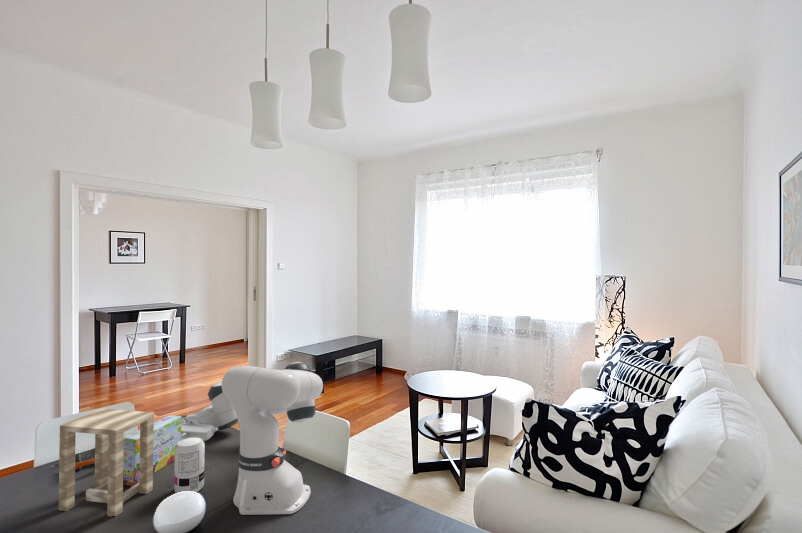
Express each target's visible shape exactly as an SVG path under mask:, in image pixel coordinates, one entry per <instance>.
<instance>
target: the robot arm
mask: <svg viewBox="0 0 802 533" xmlns="http://www.w3.org/2000/svg"><path fill="white" fill-rule="evenodd" d="M323 383H324V382H323V380H322V378H321V377H320V375H318V374H316V373H314V372H313V371H312V369H311V367H310V365H309V364H308V363H307V362H302V361H295V362H292V363H289V364H287V365H286V366H285V367H284V369H274V368H267V367H260V366H253V365H238V366H233V367H230V368H229V369H228V370H227V371H226V372H225V374H224V375H223V378H222V380H221V381H219V382H217V383H214V384H213V385H211V386H210V389H209V390H208V392H207V396H208V400H209V401H210V403H211V405H208V406H206V407H204V408H202V409H201V410H200V411H197V412H195V413H191V414H186V415H181V416H182V425H181V440H182V439H185V438H188V437H200V438H202V439H203V442H205V441H208V440H209V439H211V437H213V436H214V434H215V433H216V432H217V431H223V430H228V429H229V428H231V427H233V426H235V425H236V424H238V426H239V451H238V456H237V457H238V458H237V466H238V468H237V469H238V476H237V477H238V478H237V482H236V489H235V492H234V496H233V500H232V501H233V504H234V506H236V507H237V508H238V511H239V512H238V513H239V514H240V515H242V516H243V515H245V516H247V515H255V516H256V515H292V514H294V513H296V512H298V511H300V510H301V509H302V508H303V507H304V505H306V503H307V502H308V500H309V498H310V496H311V493H312V491H311V486H309V485H308V484H304V480H303V475H302V473H301V471H299V469H297V468H296V467H294V466H293V465H292V464H290V463H289V462H288V461H287V460H286V459H285V455H286V453H287V449H284V450H283V451H282V450H281V447H280V446H279V430H280V429H279V422H278V419H277V418H276V417H275V416H276V415H281V414H286V416H287V419H288V420H289V421H290V422H291V423H297V424H299V423H301V424H302V423H305V422H307V421H309V420H311V419H313V417H314V416H315V415H316V409H317V408H316V405H315V402H316V400H317V398H319V397H320V395H321V394H322V392H323V389H324V384H323Z"/></svg>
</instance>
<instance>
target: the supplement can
mask: <svg viewBox="0 0 802 533" xmlns="http://www.w3.org/2000/svg"><path fill="white" fill-rule="evenodd" d="M205 445H206V444H205V441H203V439H202V438H200V437H188V438H185V439H182V440H180V441H179V442H178V443H177V446H176V448H175V460H174V473H173V474H174V480H173V481H174V482H173V484H174V486H173V488H174V489H173V490H174V492H175V494H177V492H181V491H196V492H197V493H198V492H199V491H201V489H203V487H204V486H205V451H206V450H205V448H206V447H205Z"/></svg>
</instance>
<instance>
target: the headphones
mask: <svg viewBox="0 0 802 533" xmlns="http://www.w3.org/2000/svg"><path fill="white" fill-rule="evenodd" d="M88 457H89V458H90V459H88V460H85V461H82V459H84V458H88ZM92 464H94V465H95V448H93V449H92V450H91V452H90V453H88V452H87V453H86V454H85V455H84V456H83V455H81V453H80V452H78V453H75V471H79V470H81V469H82V468H83V467H85V466H88V465H92ZM57 466H59V463H57V464H54V465H51V466H50V468H52V467H57Z"/></svg>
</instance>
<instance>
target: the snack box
mask: <svg viewBox="0 0 802 533" xmlns="http://www.w3.org/2000/svg"><path fill="white" fill-rule="evenodd" d="M182 416H183V415H173V414H171V415H169V414H168V415H167V416H165V417H163V418H161V419H159V420H157V421H154V436H153V475H154V474H156V473H157V472H159V470H161V469H162V470H163V468H165V467H166V466H168V465H170V464H171V463H172V462H175V448H176V446H177V443H178V442H179V441H180V440H181V425H182ZM139 477H140V429H138V430H136V431H134V432H132V433H130V434H128V435H126V436H124V443H123V486H128V487H133V486H134V485H136V484H138V483H139Z"/></svg>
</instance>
